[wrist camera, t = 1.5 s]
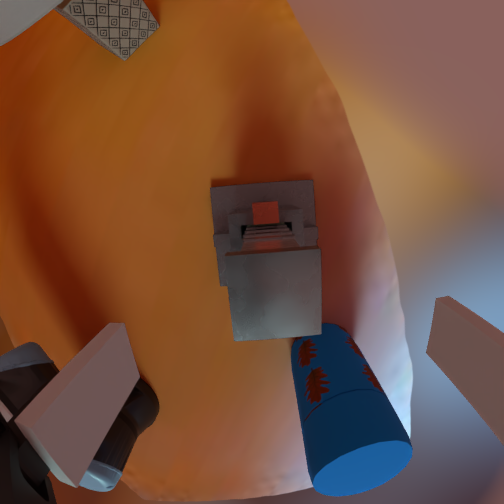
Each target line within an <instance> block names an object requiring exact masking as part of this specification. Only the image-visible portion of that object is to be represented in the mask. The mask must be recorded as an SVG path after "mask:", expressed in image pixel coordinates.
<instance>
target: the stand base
mask: <svg viewBox="0 0 504 504" xmlns="http://www.w3.org/2000/svg"><path fill="white" fill-rule="evenodd" d="M210 193H211V203H212V214H213V224H214V235H213V239H214V247H216V252H217V261H218V270H219V279H220V286H228V285H227V276H226V267H225V257H224V256H225V254H226V252H237V251H241V249H242V238H243V235H244V234H245V230H246V227H247V225H253V224H254V225H256V224H269V223H279V222H284V224H286V226H287V227H289V230H291V231H292V234H294V235H295V237H296V242H297V243H298V244H299V246H300V247H302V246H316V245H317V242H316V239H318V227H317V226H316V220H315V203H314V188H313V180H300V181H282V182H268V183H255V184H243V185H232V186H222V187H212V188H210Z"/></svg>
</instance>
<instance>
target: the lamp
mask: <svg viewBox="0 0 504 504" xmlns="http://www.w3.org/2000/svg"><path fill="white" fill-rule="evenodd" d="M52 9H54V10H56V11H57V12H58V13H60V14H61V15H62V16H64V17H65V18H66V19H68V20H69V21H70V22H72V23H73V24H74V25H76V26H77V27H78V28H79V29H81V30H82V31H83V32H84V33H86V34H87V35H88V36H89V37H91V38H92V39H93V40H94V41H96V42H97V43H98V44H99V45H101V46H103V47H104V48H106V49H107V50H109V51H110V52H112V53H113V54H115V55H116V56H118V57H119V58H121V59H122V60H127V59H128V57H129V56H130V55H131V54H132V53H133V52H134V51H135V50H136V49H137V48H138V47H139V46H140V45H141V44H142V43H143V42H144V41H145V40H146V39H147V38H148V37H149V36H150V35H151V34H152V33H153V32H154V31H155V30H156V29H157V28H159V24H158V22H157V21H156V19H155V18H154V16H153V15H152V13H151V12H150V10H149V9H148V7H147V6H146V4H145V3H144V1H143V0H0V46H1V45H3V44H5V43H7V42H8V41H10V40H12V39H13V38H15V37H16V36H18V35H19V34H21V33H22V32H23V31H25V30H26V29H27V28H29V27H30V26H32V25H33V24H34V23H36V22H37V21H38V20H39V19H41V18H42V17H43V16H45V15H46V14H47V13H48V12H50V11H51V10H52Z"/></svg>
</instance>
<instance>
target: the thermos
mask: <svg viewBox="0 0 504 504" xmlns="http://www.w3.org/2000/svg"><path fill="white" fill-rule="evenodd" d="M291 364H292V373H293V379H294V385H295V391H296V397H297V403H298V409H299V415H300V421H301V428H302V434H303V440H304V447H305V453H306V460H307V466H308V472H309V475H310V478H311V481H312V484H313V486H314V488H315V490H316V491H317V492H319V493H321V494H324V495H329V496H346V495H353V494H357V493H361V492H364V491H368V490H370V489H372V488H375V487H377V486H379V485H382V484H384V483H385V482H387V481H388V480H390V479H391V478H393V477H395V476H396V475H397V474H398V473H399V472H400V471H401V470H402V469H403V468H404V467H406V465H407V464H408V462H409V461H410V459H411V457H412V445H411V442H410V439H409V436H408V434H407V432H406V430H405V429H404V427H403V425H402V423H401V421H400V419H399V417H398V416H397V414H396V412H395V410H394V408H393V407H392V405H391V403H390V401H389V399H388V398H387V396H386V394H385V392H384V390H383V389H382V387H381V385H380V383H379V382H378V380H377V378H376V376H375V375H374V373H373V371H372V370H371V368H370V366H369V364H368V363H367V361H366V359H365V358H364V356H363V354H362V352H361V351H360V349H359V347H358V346H357V345H356V343H355V342H354V341H353V339H352V338H351V336H350V335H349V334H348V333H347V331H346V330H345V329H344V328H342V327H340V326H338V325H336V324H329V323H324V324H321V334H319V335H310V336H300V337H297V338H296V340H295V342H294V344H293V346H292V350H291Z"/></svg>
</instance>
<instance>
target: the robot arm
mask: <svg viewBox="0 0 504 504" xmlns="http://www.w3.org/2000/svg"><path fill="white" fill-rule="evenodd" d="M426 353H427V354H428V356H429V357H430V358H431V359H432V360H433V361H434V362H435V363H436V364H437V366H438V367H439V368H440V369H441V370H442V371H443V372H444V373H445V375H446V376H447V377H448V378H449V379H450V380H451V381H452V383H453V384H454V385H455V386H456V387H457V388H458V389H459V390H460V392H461V393H462V394H463V395H464V397H465V398H466V399H467V400H468V401H469V403H470V404H471V405H472V406H473V407H474V409H475V410H476V411H477V412H478V414H479V415H480V416H481V417H482V419H483V420H484V421H485V422H486V423H487V425H488V426H489V427H490V429H491V430H492V431H493V432H494V434H495V435H496V436H497V438H498V439H499V440H500V442H501V443H502V444H503V445H504V333H503V332H501V331H500V330H499V329H497V328H496V327H494V326H493V325H491V324H490V323H488V322H487V321H486V320H484V319H483V318H481V317H480V316H478V315H477V314H475V313H474V312H472V311H471V310H469V309H468V308H466V307H465V306H463V305H462V304H460V303H459V302H457V301H456V300H454V299H453V298H451V297H449V296H446V297H440V298H436V301H435V308H434V314H433V320H432V326H431V332H430V336H429V341H428V346H427V351H426ZM158 412H159V402H158V399H157V397H156V395H155V393H154V392H153V390H152V389H151V388H150V387H149V386H148V385H147V384H146V383H145V382H144V381H143V380H142V379H140V375H139V372H138V369H137V365H136V362H135V359H134V356H133V352H132V349H131V346H130V342H129V339H128V335H127V331H126V328H125V324H124V323H109V324H108V325H106V326H105V327H104V328H103V329H102V330H101V331H100V332H99V333H98V334H97V335H96V336H95V337H94V338H93V339H92V340H91V341H90V342H89V343H88V344H87V345H86V346H85V347H84V348H83V349H82V350H81V351H80V352H79V353H78V354H77V355H76V356H75V357H74V358H73V359H72V360H71V361H70V362H69V363H68V364H67V365H66V366H65V367H64V368H63V369H62V370H61V371H59V370H58V368H57V367H56V366H55V364H54V361H53V360H51V359H50V358H49V357H48V356H47V354H46V353H45V352H44V350H43V349H42V348H41V346H40V345H38V344H37V343H35V342H28V343H25V344H23V345H21V346H19V347H17V348H15V349H13V350H11V351H9V352H7V353H6V354H4V355H2V356H0V504H57V503H56V499H55V495H54V492H53V488H52V483H51V481H50V479H49V477H48V476H47V474H48V472H49V471H50V470H51V471H52V473H53V474H54V475H55V476H56V477H57V478H58V480H60V481H62V482H64V483H66V484H69V485H71V486H74V487H76V488H77V487H78V485H80V486H83V487H85V488H88V489H91V490H95V491H110V490H112V489H113V488H114V487H115V485H116V484H117V482H118V480H119V478H120V477H121V476H122V472H123V469H124V467H125V465H126V462H127V460H128V458H129V455H130V453H131V451H132V448H133V446H134V444H135V442H136V439H137V437H138V436H139V435H140V434H141V433H142V432H143V431H144V430H145V429H146V428H147V427H149V426H150V425H152V424H153V422H154V421H155V419H156V417H157V415H158Z"/></svg>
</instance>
